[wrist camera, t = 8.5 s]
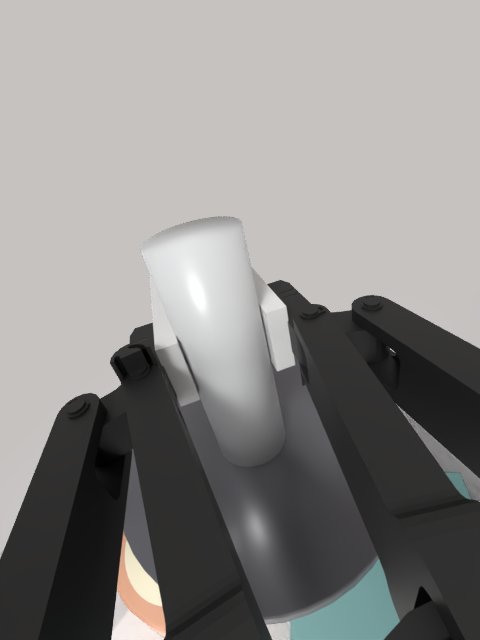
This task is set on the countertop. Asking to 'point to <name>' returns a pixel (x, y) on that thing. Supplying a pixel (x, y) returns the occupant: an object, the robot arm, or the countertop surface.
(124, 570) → the orange bowl
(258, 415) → the lid
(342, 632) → the mat
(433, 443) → the countertop surface
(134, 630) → the countertop surface
